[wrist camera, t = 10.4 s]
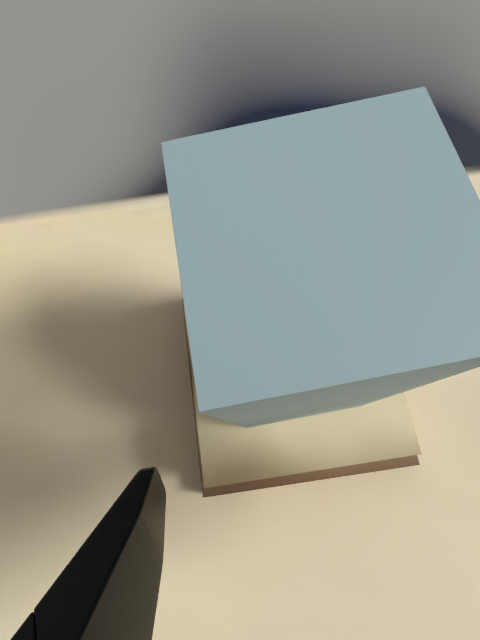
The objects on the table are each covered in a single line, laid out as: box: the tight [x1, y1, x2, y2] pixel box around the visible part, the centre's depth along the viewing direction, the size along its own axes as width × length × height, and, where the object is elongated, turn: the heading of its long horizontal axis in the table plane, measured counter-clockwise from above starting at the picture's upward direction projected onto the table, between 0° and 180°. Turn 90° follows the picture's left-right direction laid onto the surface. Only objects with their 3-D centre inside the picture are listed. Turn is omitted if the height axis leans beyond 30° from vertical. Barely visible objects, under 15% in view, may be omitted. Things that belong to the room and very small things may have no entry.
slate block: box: [162, 87, 480, 428], centre depth 12 cm, size 6×6×12 cm
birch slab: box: [185, 316, 421, 488], centre depth 19 cm, size 10×10×2 cm
